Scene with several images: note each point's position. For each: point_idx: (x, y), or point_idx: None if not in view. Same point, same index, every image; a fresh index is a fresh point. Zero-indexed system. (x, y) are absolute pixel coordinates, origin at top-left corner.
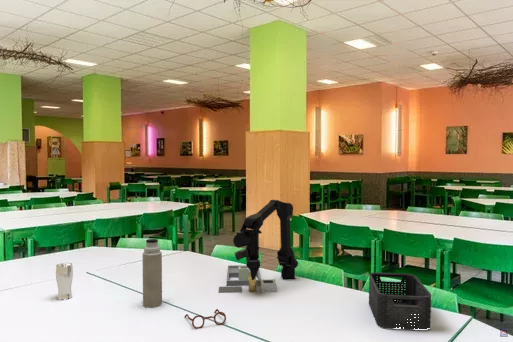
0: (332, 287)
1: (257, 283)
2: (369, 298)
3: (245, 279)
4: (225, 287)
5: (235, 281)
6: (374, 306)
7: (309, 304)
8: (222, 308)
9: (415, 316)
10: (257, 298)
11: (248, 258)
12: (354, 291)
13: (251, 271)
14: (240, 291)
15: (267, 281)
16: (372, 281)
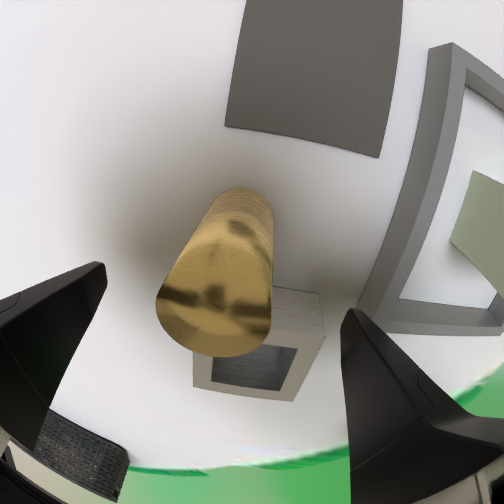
0: (234, 458)
1: (371, 293)
2: (101, 450)
3: (470, 228)
4: (377, 17)
5: (440, 118)
6: (46, 426)
7: (73, 375)
8: (4, 40)
9: None
10: (89, 223)
11: (475, 492)
12: (195, 464)
13: (1, 316)
14: (233, 112)
15: (288, 363)
16: (50, 467)
